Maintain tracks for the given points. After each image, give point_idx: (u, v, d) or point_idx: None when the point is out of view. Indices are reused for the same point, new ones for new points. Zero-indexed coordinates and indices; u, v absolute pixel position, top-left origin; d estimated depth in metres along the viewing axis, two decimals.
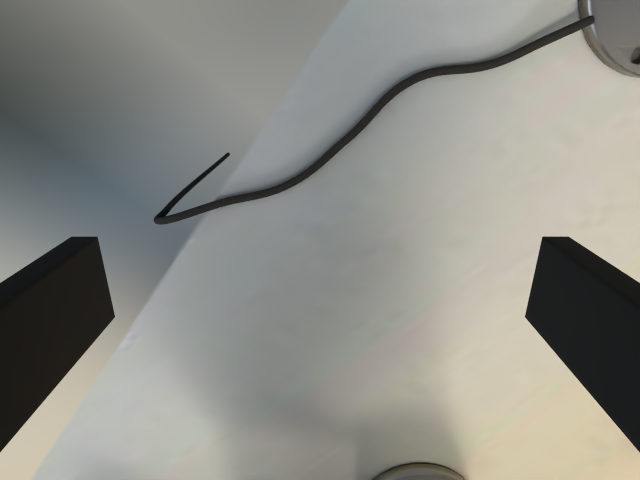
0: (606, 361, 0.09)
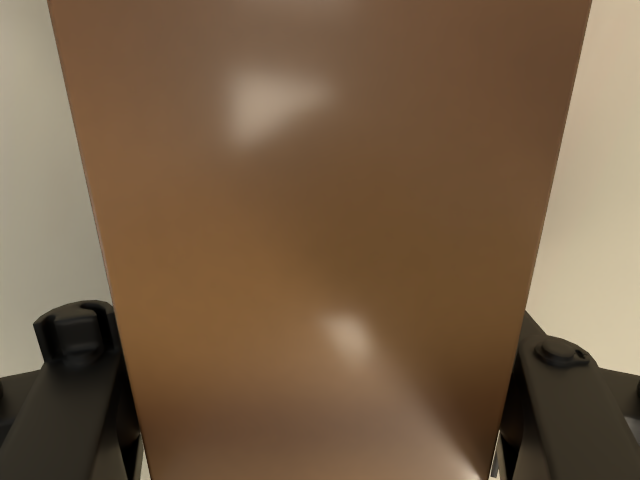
0: None
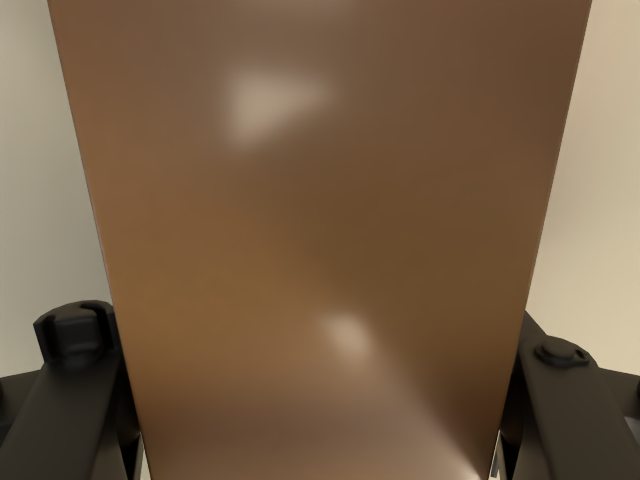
0: None
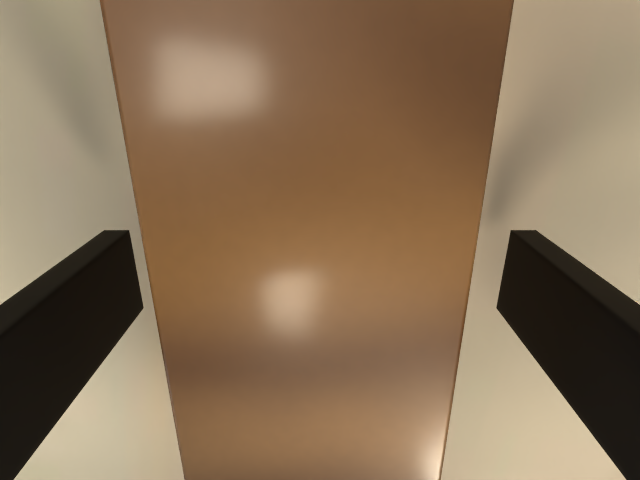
0: (563, 346, 0.10)
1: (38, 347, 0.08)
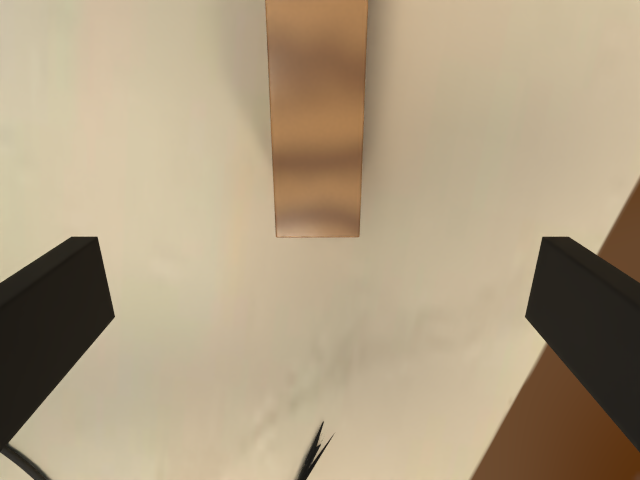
0: (606, 361, 0.09)
1: None
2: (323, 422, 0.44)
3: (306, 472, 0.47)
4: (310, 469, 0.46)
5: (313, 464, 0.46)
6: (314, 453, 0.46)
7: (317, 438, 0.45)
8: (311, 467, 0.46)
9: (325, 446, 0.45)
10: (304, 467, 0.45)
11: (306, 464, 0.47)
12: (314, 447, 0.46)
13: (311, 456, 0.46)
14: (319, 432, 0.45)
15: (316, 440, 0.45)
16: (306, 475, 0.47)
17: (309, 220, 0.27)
